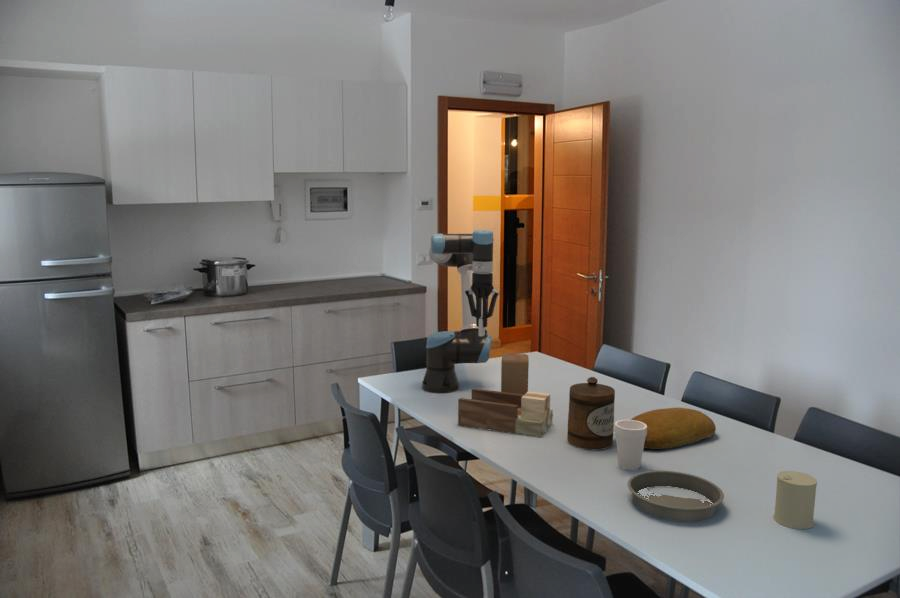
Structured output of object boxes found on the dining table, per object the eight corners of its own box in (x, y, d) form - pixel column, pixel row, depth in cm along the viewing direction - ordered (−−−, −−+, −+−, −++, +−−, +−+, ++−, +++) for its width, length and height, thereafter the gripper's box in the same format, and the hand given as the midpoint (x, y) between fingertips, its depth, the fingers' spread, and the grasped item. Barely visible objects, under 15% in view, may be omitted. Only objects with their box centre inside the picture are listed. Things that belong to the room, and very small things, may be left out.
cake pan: (743, 518, 184) (744, 501, 183) (659, 530, 177) (660, 513, 176) (686, 480, 207) (687, 465, 206) (610, 490, 200) (610, 474, 199)
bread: (726, 439, 241) (728, 410, 239) (646, 456, 225) (647, 426, 223) (685, 422, 257) (687, 396, 255) (608, 438, 241) (609, 409, 239)
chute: (473, 413, 266) (473, 388, 264) (552, 423, 254) (552, 397, 253) (458, 425, 252) (458, 399, 250) (541, 437, 241) (541, 410, 239)
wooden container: (597, 453, 227) (600, 386, 223) (558, 442, 237) (560, 377, 233) (621, 441, 237) (624, 377, 234) (582, 430, 247) (585, 369, 244)
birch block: (527, 410, 253) (528, 391, 252) (549, 413, 250) (550, 393, 249) (520, 417, 246) (521, 397, 245) (543, 420, 243) (544, 400, 242)
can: (766, 513, 186) (770, 469, 184) (800, 512, 187) (804, 468, 185) (785, 530, 177) (789, 484, 175) (821, 528, 178) (825, 483, 176)
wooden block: (527, 404, 277) (528, 353, 274) (527, 412, 267) (528, 360, 264) (501, 403, 278) (502, 352, 275) (500, 411, 268) (501, 359, 265)
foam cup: (627, 474, 211) (629, 431, 208) (606, 463, 219) (608, 422, 217) (651, 468, 215) (653, 427, 213) (630, 458, 223) (632, 418, 221)
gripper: (462, 272, 261) (461, 336, 265) (496, 274, 256) (495, 339, 260) (469, 270, 268) (468, 332, 272) (502, 272, 263) (501, 335, 267)
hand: (481, 335), depth 266 cm, fingers closed
